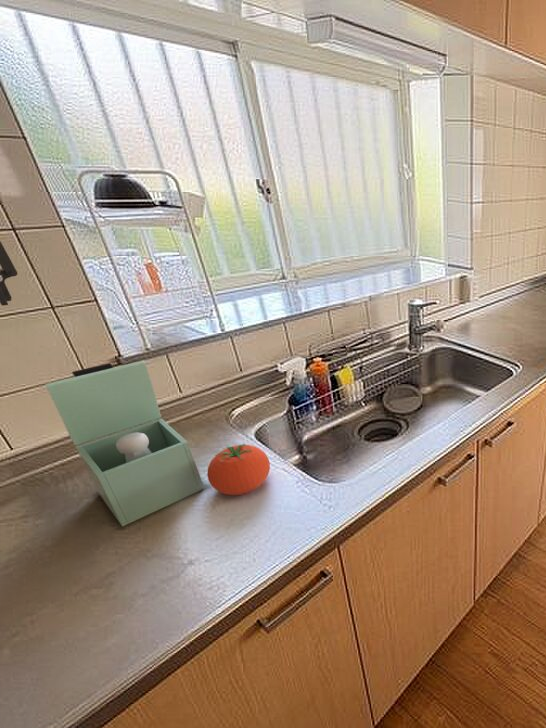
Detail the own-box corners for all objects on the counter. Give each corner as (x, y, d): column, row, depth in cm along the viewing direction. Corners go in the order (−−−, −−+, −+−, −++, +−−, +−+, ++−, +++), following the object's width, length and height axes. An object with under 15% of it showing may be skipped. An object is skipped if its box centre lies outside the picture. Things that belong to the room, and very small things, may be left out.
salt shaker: (178, 481, 83) (156, 426, 77) (167, 501, 78) (143, 443, 72) (142, 486, 81) (117, 430, 75) (129, 506, 76) (101, 448, 70)
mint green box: (205, 491, 82) (187, 441, 77) (124, 530, 73) (97, 476, 67) (179, 465, 88) (161, 418, 83) (101, 498, 79) (75, 446, 74)
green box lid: (145, 362, 75) (133, 348, 77) (46, 386, 66) (35, 370, 67) (161, 417, 83) (150, 403, 84) (75, 445, 73) (64, 429, 75)
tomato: (285, 476, 87) (275, 436, 83) (249, 510, 78) (236, 467, 74) (241, 468, 89) (229, 428, 84) (201, 501, 80) (185, 459, 75)
